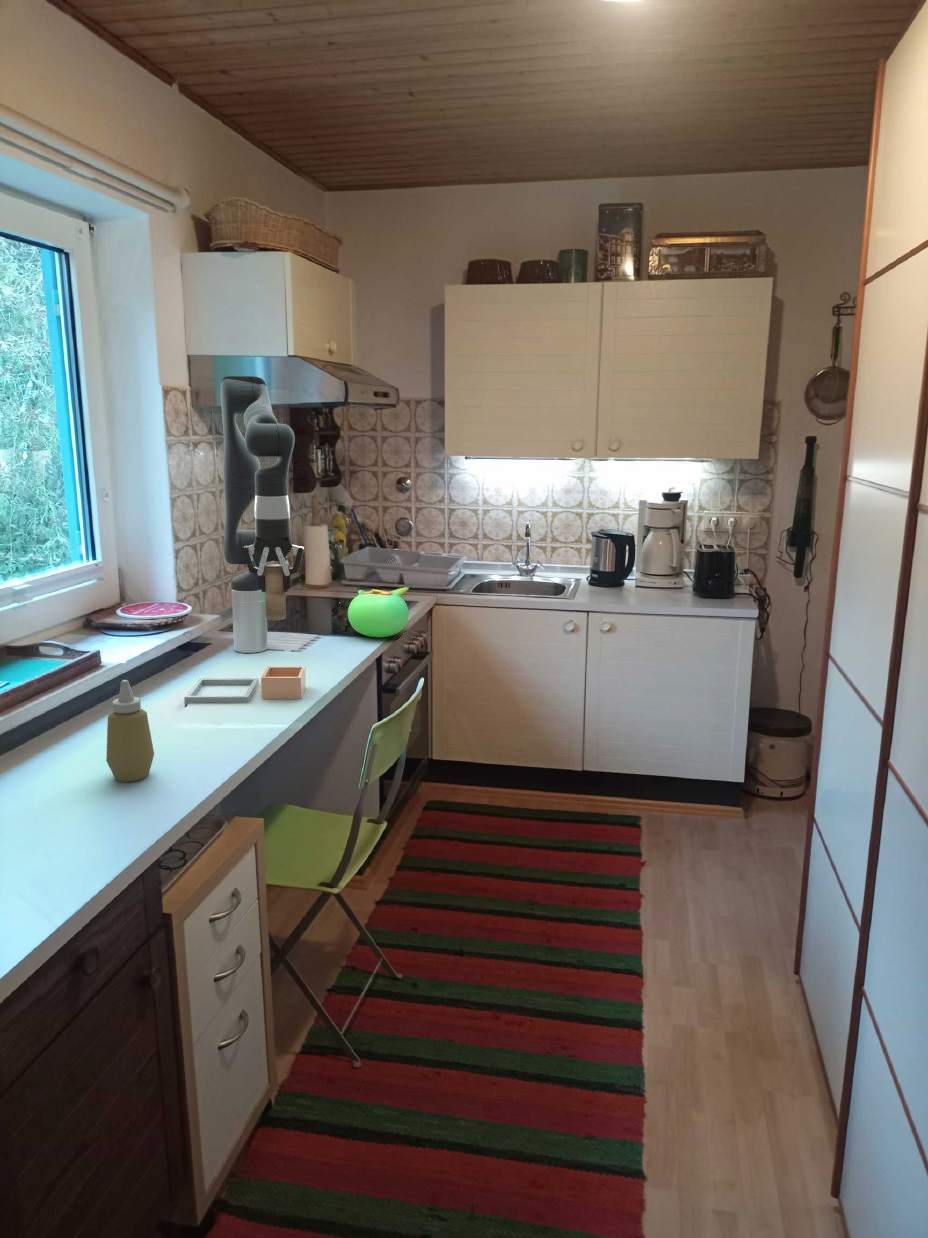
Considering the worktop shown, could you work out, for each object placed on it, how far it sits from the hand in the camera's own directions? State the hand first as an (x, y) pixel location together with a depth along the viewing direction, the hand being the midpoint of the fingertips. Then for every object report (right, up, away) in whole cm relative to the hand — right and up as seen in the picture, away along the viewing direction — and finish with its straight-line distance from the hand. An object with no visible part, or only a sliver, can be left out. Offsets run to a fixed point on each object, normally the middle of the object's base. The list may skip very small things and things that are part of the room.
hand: (274, 590), depth 195 cm
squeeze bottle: (-17, -35, -39) cm, 55 cm away
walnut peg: (0, -6, +1) cm, 6 cm away
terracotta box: (+1, -24, +6) cm, 25 cm away
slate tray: (-13, -24, +5) cm, 28 cm away
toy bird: (+17, -12, +62) cm, 66 cm away
